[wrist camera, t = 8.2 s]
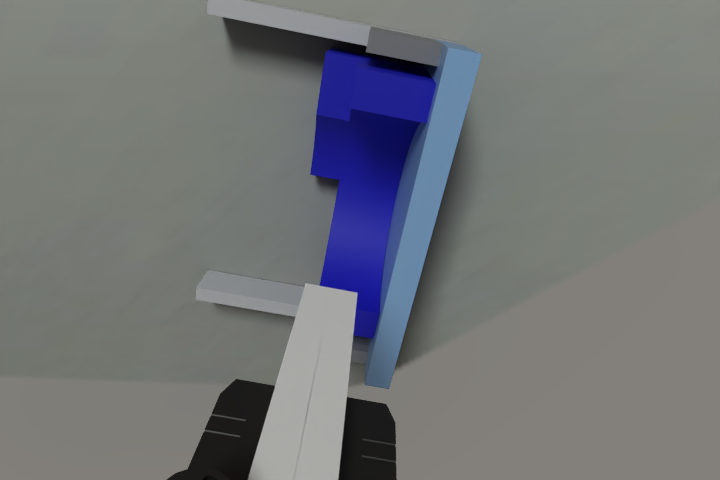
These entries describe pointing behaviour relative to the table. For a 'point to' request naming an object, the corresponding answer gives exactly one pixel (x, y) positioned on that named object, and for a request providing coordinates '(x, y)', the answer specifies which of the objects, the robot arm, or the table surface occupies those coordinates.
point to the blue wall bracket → (416, 186)
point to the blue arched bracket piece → (365, 164)
